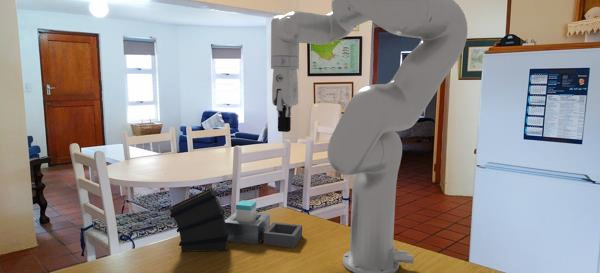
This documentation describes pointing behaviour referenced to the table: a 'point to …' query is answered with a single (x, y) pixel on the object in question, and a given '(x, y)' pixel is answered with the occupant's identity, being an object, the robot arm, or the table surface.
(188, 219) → the magazine
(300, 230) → the grey square frame
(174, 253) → the table surface
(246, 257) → the table surface
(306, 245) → the table surface
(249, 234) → the port block
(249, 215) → the plug
